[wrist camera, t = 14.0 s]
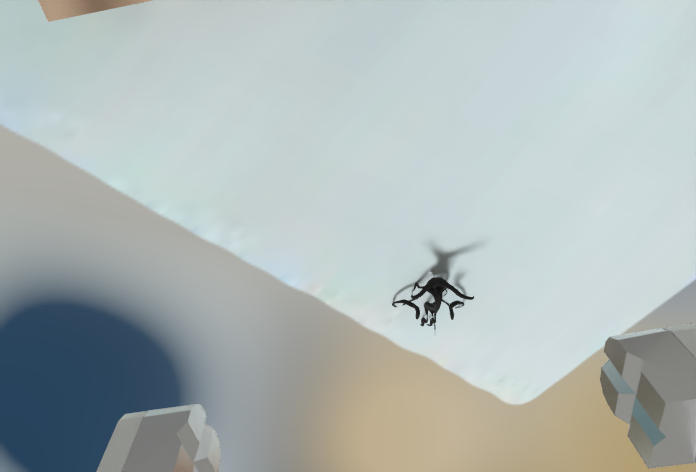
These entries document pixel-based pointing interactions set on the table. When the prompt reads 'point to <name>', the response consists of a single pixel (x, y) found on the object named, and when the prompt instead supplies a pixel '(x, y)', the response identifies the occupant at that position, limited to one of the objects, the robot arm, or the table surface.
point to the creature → (436, 289)
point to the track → (80, 7)
